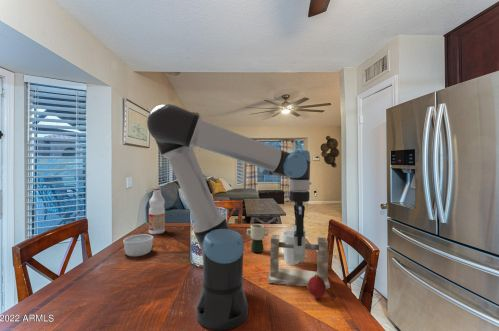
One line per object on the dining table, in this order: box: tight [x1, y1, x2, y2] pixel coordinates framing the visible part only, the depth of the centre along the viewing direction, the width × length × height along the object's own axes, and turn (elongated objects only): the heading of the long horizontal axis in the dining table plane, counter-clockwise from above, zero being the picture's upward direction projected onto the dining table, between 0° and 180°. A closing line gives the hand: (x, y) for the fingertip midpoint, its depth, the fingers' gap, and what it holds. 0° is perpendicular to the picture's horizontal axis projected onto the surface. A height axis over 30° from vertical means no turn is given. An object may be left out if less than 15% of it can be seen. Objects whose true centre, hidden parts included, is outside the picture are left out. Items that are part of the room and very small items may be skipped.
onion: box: [307, 274, 327, 299], centre depth 79 cm, size 6×6×8 cm
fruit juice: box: [148, 186, 166, 235], centre depth 149 cm, size 9×9×28 cm
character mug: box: [246, 223, 269, 253], centre depth 120 cm, size 11×7×13 cm, turn 85°
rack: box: [267, 234, 331, 289], centre depth 92 cm, size 22×10×16 cm, turn 81°
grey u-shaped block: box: [293, 224, 306, 262], centre depth 92 cm, size 4×8×11 cm, turn 171°
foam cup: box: [281, 230, 300, 266], centre depth 108 cm, size 10×9×13 cm
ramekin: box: [122, 233, 154, 257], centre depth 117 cm, size 13×13×7 cm
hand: (298, 249), depth 92 cm, fingers closed on grey u-shaped block, 8 cm apart
